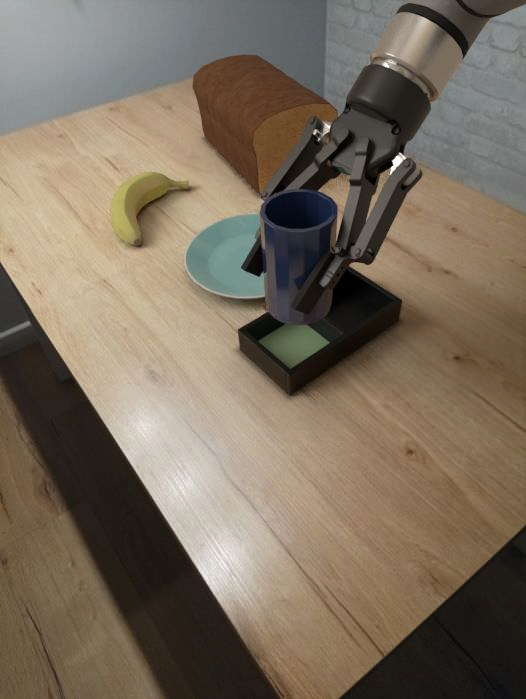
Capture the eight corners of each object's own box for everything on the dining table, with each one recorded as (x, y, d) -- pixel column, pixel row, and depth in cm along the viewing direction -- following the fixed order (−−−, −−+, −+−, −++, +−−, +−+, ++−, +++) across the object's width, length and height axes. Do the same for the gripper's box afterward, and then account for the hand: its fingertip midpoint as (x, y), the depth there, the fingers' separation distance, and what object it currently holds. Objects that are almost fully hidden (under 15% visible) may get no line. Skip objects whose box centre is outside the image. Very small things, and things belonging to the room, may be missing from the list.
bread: (270, 119, 121) (267, 43, 109) (337, 174, 102) (342, 89, 90) (198, 138, 116) (186, 60, 104) (254, 199, 97) (248, 113, 85)
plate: (178, 313, 77) (175, 299, 75) (193, 228, 92) (190, 214, 90) (327, 308, 76) (328, 294, 74) (317, 223, 91) (318, 209, 89)
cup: (345, 303, 58) (354, 210, 49) (295, 335, 55) (295, 241, 46) (301, 272, 62) (301, 180, 53) (252, 300, 59) (244, 208, 50)
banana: (83, 187, 89) (171, 156, 100) (84, 213, 93) (169, 180, 105) (134, 232, 85) (220, 194, 97) (133, 257, 89) (215, 218, 101)
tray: (398, 321, 73) (402, 300, 70) (290, 396, 65) (289, 375, 62) (345, 285, 79) (347, 264, 76) (239, 350, 71) (237, 329, 68)
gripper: (503, 137, 46) (360, 349, 51) (342, 78, 57) (238, 256, 63) (483, 93, 40) (323, 337, 45) (306, 36, 51) (195, 237, 57)
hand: (274, 290), depth 54 cm, fingers closed on cup, 7 cm apart
